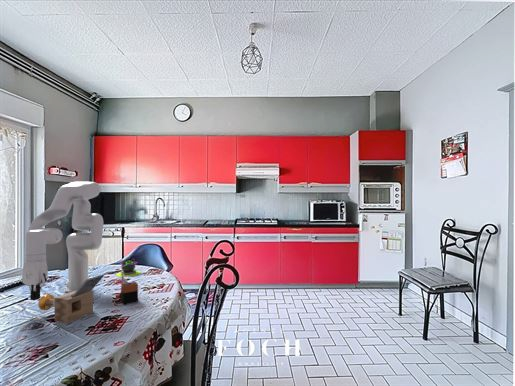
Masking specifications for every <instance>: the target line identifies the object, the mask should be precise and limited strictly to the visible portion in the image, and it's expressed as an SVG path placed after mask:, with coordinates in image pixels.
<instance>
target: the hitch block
mask: <svg viewBox="0 0 515 386" xmlns="http://www.w3.org/2000/svg"><path fill="white" fill-rule="evenodd" d="M76 291H77V290H76ZM76 291H73V292H70V293H67V292H66V293H65V294H62V295H58V296H56V297H55V296H54V298H55V307H54V321H55V322H62V323H68V324H70V323H72V322H74V321H76V320H78V319H80V318H83V317H85V316H87V315H91V314H92V313H94V290H92V291H91V292H88V293H85V294H82V295H80V296H77V297H74V298H72V297H71V295H73V294H74V293H75V292H76Z"/></svg>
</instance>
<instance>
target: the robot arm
mask: <svg viewBox="0 0 515 386" xmlns="http://www.w3.org/2000/svg"><path fill="white" fill-rule="evenodd" d="M100 186H101V185H99V183H97V182H95V181H73V182H69V183H67V184H64V185H62V186H61V185H60V187H59V188H58V190H57V191H56V194H55V196H54V198H53V200H52V202H51V204H50V206H49V208H48V209H45V210H44V211H42V212H41V213H40V214H38V215H37V216H36V217H35V218H34V219H33V220H32V222H31V224H30V226H29V227H28V229H27V231H26V233H25V253H24V255H25V261H23V267H22V273H21V274H22V276H21V282H22V284H24V285H26V286H27V287H28V289H29V292H30V299H29V300H30V301H36V300H40V299H41V290H42V287H45V286H46V283H47V282H48V277H49V275H48V273H49V271H48V263H47V245H54V244H57V243H59V242H61V241H62V240H63V237H64V236H63V232H62V231H61V230H60V229H59V228H55V227H46V226H47V225H48V224H49V223H52V222H54V221H57V220H59V219H63V218H65V217H67V216H68V214H69V212H70V210H71V208H72V206H73V209H72V211H73V212H72V217H71V218H72V219H71V228H72V229H74V230H75V231H90V232H73V233H70V234H69V235H67V237H66V240H65V245H66V249H67V256H68V260H67V261H68V263H67V265H68V276H67V277H68V278H67V281H66V282H64V285H65V286H67V287H66V288H64V291H65V293H66V294H67V293H70V292H73V291H76V290H78V289H79V287H80V286H81V285H82V284H83V283H84V281H85V280H87V279H89V256H88V253H87V252H86V251H90V250H92V251H95V250H98V249H99V248H100V247H101V245H102V240H103V232H104V218H103V216H102V215H101V214H100V213H92V212H91V211H92V209H91V207H92V205H91V202H90V201H89V200H90V199H91V200H92V199H94V198H96V197H98V196H99V194H100V193H101V187H100Z"/></svg>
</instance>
